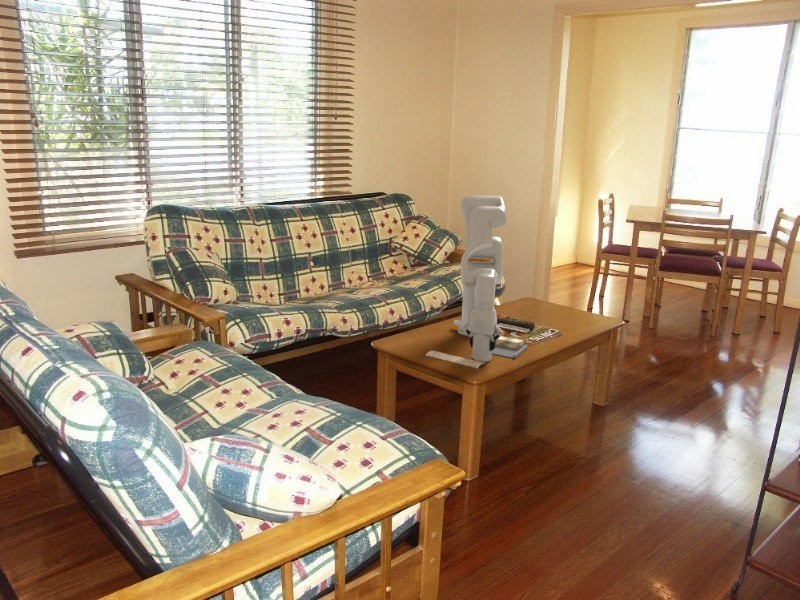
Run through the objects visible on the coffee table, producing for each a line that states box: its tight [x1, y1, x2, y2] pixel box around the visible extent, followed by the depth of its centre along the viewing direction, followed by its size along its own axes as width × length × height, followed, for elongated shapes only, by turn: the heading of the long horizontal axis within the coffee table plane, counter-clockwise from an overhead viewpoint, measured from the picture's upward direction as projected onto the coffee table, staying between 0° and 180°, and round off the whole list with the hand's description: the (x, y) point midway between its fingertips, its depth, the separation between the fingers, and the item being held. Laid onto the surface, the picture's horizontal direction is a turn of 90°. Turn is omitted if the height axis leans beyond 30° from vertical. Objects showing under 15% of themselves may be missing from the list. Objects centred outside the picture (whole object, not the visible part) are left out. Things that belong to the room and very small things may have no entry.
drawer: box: [492, 344, 529, 359], centre depth 290 cm, size 16×14×2 cm
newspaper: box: [425, 350, 487, 369], centre depth 279 cm, size 24×7×2 cm, turn 56°
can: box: [471, 333, 493, 363], centre depth 278 cm, size 8×8×12 cm
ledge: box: [495, 334, 524, 350], centre depth 294 cm, size 12×4×3 cm, turn 61°
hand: (482, 348), depth 278 cm, fingers closed on can, 7 cm apart
